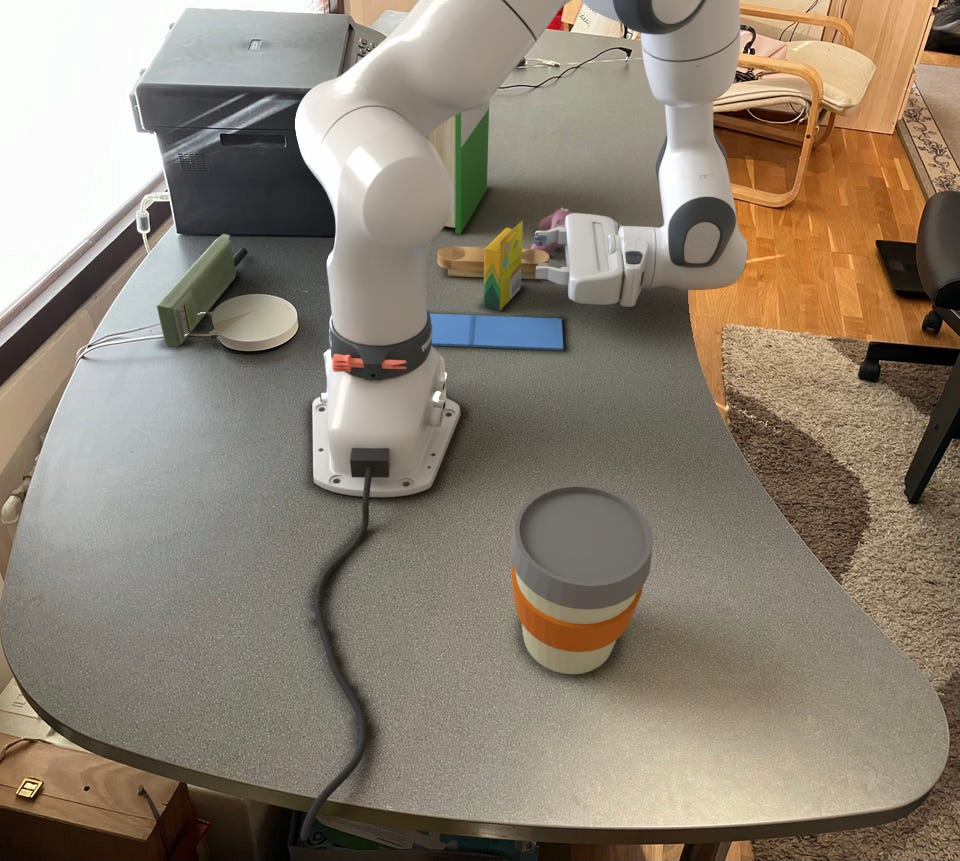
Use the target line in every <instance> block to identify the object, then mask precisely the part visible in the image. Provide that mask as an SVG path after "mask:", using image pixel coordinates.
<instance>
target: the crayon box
mask: <svg viewBox="0 0 960 861" xmlns="http://www.w3.org/2000/svg"><path fill="white" fill-rule="evenodd" d="M523 223H524V221H523V220H521V221H520V222H518V223H517V224H516V225H515V226H514V227H513V228H510V227H505V229H503V230H502V231H501V233H499V234H498V235H497V236H496V237H495V238H494V239H493V240H492V241H491V242H490V243H489V244H488V245H487V246H485V247H486V248H485V250H484V277H483V306H484V307H485V308H489V309H491V310H494V311H500V312H501V311H502V310H503V309H504V307H505V306H507V304H508V303H509V302H510V301H511V300H512V298H513V297H514V296H515V295H516V294H517V293H518V292H519V291H520V290H521V289H522V288H521V284H522V283H521V282H522V279H521V261H522V249H523V237H524V236H523V233H524V230H523V229H524V224H523Z"/></svg>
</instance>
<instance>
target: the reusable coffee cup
mask: <svg viewBox="0 0 960 861" xmlns="http://www.w3.org/2000/svg"><path fill="white" fill-rule="evenodd" d="M514 521H515V522H514V525H513V530H512V534H511V540H510V543H509V544H510V547H509V555H510V559H511V582H512V591H513V592H512V593H513V599H514V606H515V611H516V614H517V617H518V619H519V621H520V623H521V630H522V631H521V632H522V637H523V642H524V645H525V647H526V650H527V652H528V653H529V654H530V656H531V657H532V658H533V659H534V660H535V661H536V662H537V663H538V664H539V665H541V666H542V667H544V668H546V669H548V670H550V671H553V672H554V673H559V674H563V675H581V674H586V673H589V672H592V671H594V670H595V669H598V668H599V667H600V666H602V665H603V664H605V662H606V661H607V660H608V658H609V657H610V656H611V654H612V651H613V649H614V647H615V644H616V642H617V640H618V639H619V638H620V637H621V636H622V635H623V634H624V633H625V631H626V630H627V628H628V626H629V624H630V622H631V620H632V616H633V614H634V613H635V610H636V607H637V605H638V603H639V601H640V599H641V597H642V594H643V588H644V585H645V584H646V582H647V579H648V577H649V575H650V571H651V565H652V558H653V557H652V555H653V533H652V529H651V526H650V524H649V521H648V520H647V518H646V516H645V515H644V513H643V512H642V510H640V509H639V508H638V507H637V505H636V504H634V503H633V502H632V501H630V499H628V498H627V497H626V496H623V495H621V494H619V493H618V492H616V491H614V490H611V489H608V488H605V487H603V486H598V485H593V484H587V483H565V484H564V483H563V484H559V485H555V486H551V487H548V488H545V489H543V490H540V491H539V492H537V493H536V494H533V495H532V496H531V497H530V498H529V499H528V500H526V502H525V503H524V504H523V505H522V506H521V508H520V510H519V511H518V513H517V516H516V519H515V520H514Z"/></svg>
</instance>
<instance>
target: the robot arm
mask: <svg viewBox="0 0 960 861" xmlns="http://www.w3.org/2000/svg"><path fill="white" fill-rule="evenodd" d="M571 1H573V0H418V1H417V3H415V5H414V6H413V7H412V9H411V10H410V11H409V12H408V14H407V16H405V18H404V19H403V20H402V21H401V22H400V23H399V25H398V26H397V27H396V28H394V30H393V31H392V32H391V33H390V34H389V35H388V36H387V37H386V38H384V40H382V41H381V42H380V43H378V44H377V46H376V47H374V48H372V50H370V52H368V53H367V54H365V56H363V58H361V59H360V60H359V61H357V62H355V64H354V65H352V66H351V67H350V68H348V70H346V71H345V72H344V73H343V74H341V75H339V76H338V77H335V78H333V79H328V80H325V81H322V82H321V83H319V84H317V85H315V86H314V87H312V88H311V89H310V90H309V91H308V92H307V93H306V94H305V95H304V96H303V98H302V99H301V101H300V103H299V105H298V108H297V111H296V114H295V115H296V116H295V119H294V120H295V121H294V122H295V123H294V124H295V125H294V126H295V133H296V139H297V143H298V147H299V151H300V154H301V157H302V160H303V161H304V163H305V166H307V168H308V169H309V170H310V172H311V173H312V174H313V176H314V177H315V178H316V180H318V183H320V185H321V186H322V188H323V190H324V191H325V192H326V195H327V198H328V200H329V201H330V204H331V206H332V210H333V215H334V220H335V221H334V222H335V236H334V244H333V245H334V246H333V249H332V251H330V253H329V255H328V257H327V260H326V273H327V282H328V291H329V302H330V311H331V315H330V318H329V329H328V341H329V348H328V349H327V350H326V351H325V352H323V361H324V367H325V368H324V369H325V375H326V392H321V393H320V396H318V397H316V398H315V399H314V400H312V405H311V406H312V410H311V411H312V412H311V413H312V418H311V420H312V475H313V476H312V478H313V483H314V484H315V485H316V486H318V487H319V488H322V489H324V490H327V491H330V492H332V493H336V494H341V495H344V496H345V495H346V496H351V497H362V502H361V504H362V505H361V514H362V516H361V519H362V520H361V524H360V527H359V530H358V532H357V533H356V534H357V535H356V536H355V538H354V539H353V541H352V542H351V543H350V544H349V546H348V547H347V548H346V549H345V550H344V551H343V552H342V553H340V555H339V556H337V557H336V558H335V559H334V560H333V561H332V562H331V563H330V564H329V565H328V566H327V567H326V568H325V570H324V571H323V572H322V574H321V576H320V578H319V580H318V582H317V585H316V589H315V593H314V594H315V595H314V613H315V614H314V615H315V620H316V625H317V628H318V631H319V634H320V637H321V641H322V643H323V647H324V650H325V653H326V654H325V655H326V656H327V662H328V663H329V667H330V670H331V671H332V674H333V676H334V678H335V680H336V682H337V683H338V685H339V687H340V688H341V690H342V691H343V693H344V694H345V696H346V698H347V699H348V701H349V703H350V705H351V706H352V709H353V710H354V713H355V715H356V719H357V723H358V742H357V745H356V746H357V747H356V749H355V752H354V754H353V756H352V758H351V759H350V761H349V762H348V763H347V764H346V766H345V767H344V768H343V769H342V770H341V771H340V772H339V773H338V774H337V776H336V777H334V779H332V781H330V782H329V783H328V784H327V786H325V788H324V789H323V790H322V791H321V792H320V794H318V796H317V797H316V798H315V800H314V801H313V803H312V804H311V806H310V808H309V810H308V811H307V814H306V816H305V819H304V821H303V824H302V828H301V832H300V836H299V838H300V839H301V841H302V842H303V841H304V842H305V841H307V840H308V839H309V838H310V836H311V830H312V827H313V825H314V822H315V820H316V817H317V815H318V813H319V811H320V810H321V808H322V807H323V805H324V804H325V803H326V802H327V800H328V799H329V798H330V796H331V795H332V794H333V793H334V792H335V791H336V790H337V789H338V788H339V787H340V786H341V785H342V784H343V783H344V782H345V781H346V780H347V779H348V778H349V777H350V776H351V774H352V773H354V771H355V770H356V768H357V767H358V766H359V764H360V762H361V760H362V759H363V756H364V754H365V751H366V748H367V743H368V722H367V718H366V714H365V711H364V708H363V706H362V704H361V702H360V700H359V698H358V697H357V695H356V693H355V691H354V690H353V688H352V687H351V685H350V684H349V682H348V681H347V679H346V677H345V676H344V674H343V672H342V670H341V668H340V665H339V663H338V661H337V658H336V655H335V651H334V648H333V644H332V641H331V639H330V636H329V632H328V630H327V626H326V623H325V619H324V614H323V605H322V604H323V595H324V589H325V586H326V583H327V581H328V579H329V577H330V576H331V575H332V574H333V572H334V571H335V570H336V569H337V568H338V567H339V566H340V565H341V564H342V563H343V562H344V561H345V560H346V559H347V558H348V557H349V556H350V555H351V554H352V552H354V550H356V549H357V547H358V546H359V545H360V544H361V542H362V540H363V539H364V537H365V535H366V533H367V530H368V527H369V522H370V498H396V497H404V496H410V495H414V494H418V493H421V492H424V491H426V490H428V489H430V488H431V487H432V486H433V484H434V482H435V480H436V477H437V475H438V472H439V469H440V467H441V464H442V462H443V460H444V457H445V456H446V452H447V449H448V447H449V445H450V443H451V439H452V437H453V436H454V435H453V434H454V433H455V430H456V427H457V425H458V423H459V420H460V417H461V415H462V414H461V407H460V405H459V404H458V402H457V403H456V402H455V401H454V400H452V399H449V398H448V397H447V387H446V386H447V385H446V379H447V372H446V366H445V365H446V364H445V358H444V357H443V356H442V354H440V353H439V352H438V351H437V350H436V349H435V348H434V345H432V323H431V317H430V314H431V313H430V311H429V310H428V280H427V279H428V278H427V277H428V276H427V272H428V271H427V270H428V268H427V267H428V257H429V253H430V247H431V243H432V240H433V239H434V238H435V237H436V236H437V235H438V234H439V233H440V232H441V231H442V230H443V229H444V227H446V226H445V225H446V223H447V221H448V219H449V217H450V215H451V212H452V209H453V205H454V187H453V183H452V180H451V178H450V175H449V173H448V171H447V169H446V167H445V165H444V163H443V161H442V159H441V157H440V156H439V154H438V152H437V150H436V149H435V147H434V146H433V145H432V144H431V143H430V142H429V141H428V140H427V139H426V138H425V137H426V136H427V135H428V134H430V133H431V132H432V131H433V130H435V129H436V128H437V127H438V126H440V125H441V124H442V123H444V122H445V121H447V120H448V119H450V118H452V117H453V116H455V115H457V114H459V113H461V112H464V111H469V110H473V109H476V108H479V107H481V106H482V105H484V104H485V103H486V102H488V101H489V102H490V99H492V97H493V96H494V95H495V94H496V93H497V91H498V90H499V88H500V87H501V86H502V85H503V84H504V82H505V81H506V80H507V79H508V77H509V76H510V75H511V74H512V73H513V71H514V70H515V69H516V68H517V66H518V65H519V64H520V63H521V61H522V60H523V59H524V58H525V56H526V55H527V54H528V52H529V51H530V50H531V49H532V48H533V46H534V45H535V44H536V42H537V41H538V40H539V39H540V37H541V36H542V35H543V33H544V32H545V31H546V29H547V28H548V27H549V26H550V24H551V23H552V21H553V20H554V19H555V17H556V16H557V14H558V12H559V11H560V10H561V9H562V8H563V7H564V6H566V5H567V4H568V3H570V2H571ZM580 1H581V2H582V3H583V4H584V5H585V6H586V7H587V8H588V9H590V10H591V11H593V12H595V13H597V14H599V15H601V16H603V17H604V18H607V19H609V20H612V21H615V22H618V23H620V24H622V25H623V26H624V27H626V28H627V29H629V30H631V31H633V32H637V33H640V45H641V46H640V47H641V53H642V60H643V65H644V66H643V67H644V70H645V75H646V78H647V82H648V84H649V88H650V91H651V94H652V96H653V97H654V98H655V99H656V100H657V101H658V102H660V103H661V104H664V111H665V112H664V113H665V114H664V115H665V130H666V131H665V132H666V133H665V134H666V135H665V138H664V140H663V144H662V147H661V149H660V151H659V153H658V156H657V159H656V162H655V175H656V179H657V184H658V188H659V193H660V201H661V207H662V208H661V209H662V217H663V225H662V226H660V227H657V226H639V225H638V226H636V225H622V224H620V223H618V222H617V221H615V220H614V219H613V218H611V217H609V216H605V215H599V214H593V213H592V214H591V213H581V212H573V213H572V214H569V215H567V216H566V219H565V227H556V228H553V229H550V230H547V231H540V230H536V231H535V232H534V243H535V245H537V246H540V245H541V246H546V244H548V243H553V242H558V244H561V245H564V250H565V264H566V266H561V267H560V268H559V267H555V266H550V265H549V266H548V263H537V264H536V267H535V277H536V278H537V279H536V280H547V281H550V282H552V283H554V284H557V285H560V286H567V295H568V296H567V297H568V299H569V300H571V301H573V302H575V303H578V304H584V305H601V306H602V305H605V306H606V305H607V306H608V305H615V304H618V302H619V305H620V306H622V307H627V308H629V307H634V306H636V304H637V301H638V298H639V296H640V294H641V292H642V289H647V290H648V289H656V288H659V287H666V288H667V287H668V288H671V289H675V290H681V291H710V290H719V289H723V288H728V287H730V286H733V285H735V284H736V283H737V282H738V281H739V279H740V278H741V277H742V275H743V273H744V271H745V269H746V265H747V260H748V256H749V244H748V240H747V239H746V237H745V236H744V235H743V233H742V231H741V229H740V226H739V221H738V218H737V216H738V215H737V209H736V204H735V199H734V194H733V193H734V192H733V189H732V184H731V183H732V182H731V178H730V174H729V164H728V155H727V152H726V148H725V147H724V145H723V143H722V141H721V140H720V139H719V137H718V136H717V134H716V132H715V130H714V101H716V100H717V99H719V98H720V97H722V96H723V95H724V94H725V93H726V92H728V90H730V88H732V86H733V84H734V82H735V78H736V74H737V69H738V65H739V59H740V50H741V5H740V0H580ZM429 313H430V314H429Z"/></svg>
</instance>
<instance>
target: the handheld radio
mask: <svg viewBox="0 0 960 861" xmlns="http://www.w3.org/2000/svg"><path fill="white" fill-rule="evenodd" d="M230 237H231V235H230V234H226V233H222V234H221V235H220V236H218V237H217V238H216V239H214V241H213V242H212V243H211V245H209V247H207V249H206V250H205V251H203V253H202V255H200V257H199V258H197V260H196V261H195V262H194V263H193V264H192V265H191V266H190V267H189V269H188V270H187V271H186V272H185V273H184V274H183V275H182V277H181V278H179V280H178V281H177V282H176V283H175V284H174V285H173V287H172V288H171V289H170V290H169V291H168V292H167V293H166V294H165V295H164V297H163V298H162V299H161V300H160V301H159V302H158V303H157V305H156V309H157V314H158V318H159V323H160V327H161V331H162V336H163V340H164V341H163V342H164V344H165V345H166V346H167V347H174V348H175V347H176V348H178V347H180V346H181V345H182V344H183V343H184V342H185V340H186V339H187V338H188V336H190V334H191V332H193V330H194V329H195V328H196V327H197V325H198V324H199V323H200V322H201V320H203V318H204V317H205V316H206V314H201V315H197V314H198V313H200V312H207V313H208V312H209V311H210V309H211V308H212V307H213V306H214V304H215V303H216V302H217V300H219V298H220V297H221V296H222V294H223V293H224V292H225V291H226V290H227V288H228V287H229V286H230V284H231V283H232V282H233V281H234V280H235V278H236V276H237V275H236V274H237V273H236V267H237V266H238V265H239V264H240V263H241V262H242V261H243V259H244V258H245V257H246V256H247V255H248V253H249V252H248V250H247V249H246V248H245V247H240V249H239V250H238V251H237V252H236V253H235V254H234V252H233V246H232V242H231V240H230ZM188 333H189V334H188ZM185 334H188V335H187V336H186V337H184V335H185Z"/></svg>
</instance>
